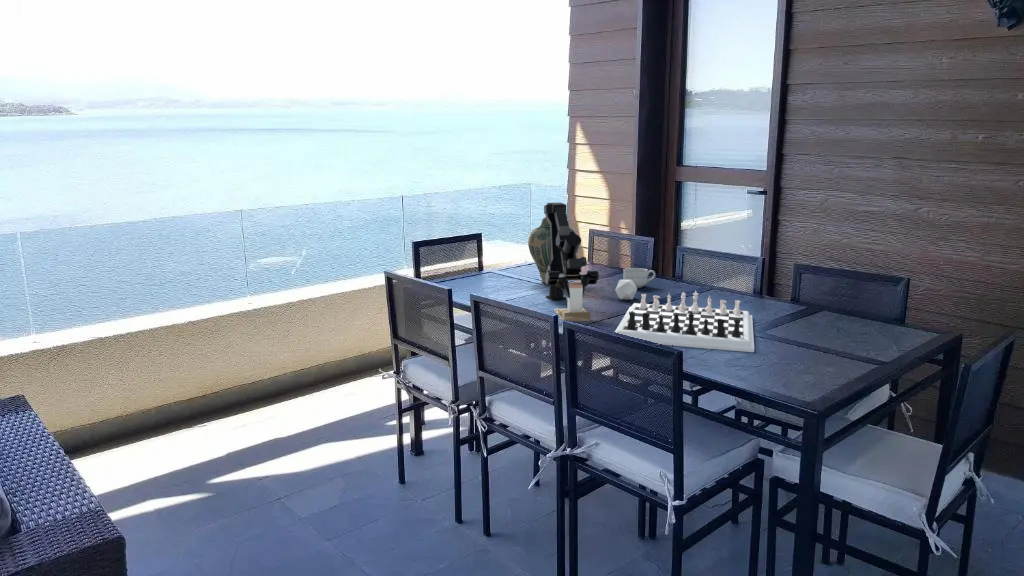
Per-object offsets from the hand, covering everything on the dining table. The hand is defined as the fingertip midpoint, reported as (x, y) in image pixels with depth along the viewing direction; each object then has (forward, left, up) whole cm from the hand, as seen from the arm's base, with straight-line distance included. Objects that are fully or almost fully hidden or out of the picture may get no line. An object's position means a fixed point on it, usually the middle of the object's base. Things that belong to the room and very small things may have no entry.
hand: (575, 297), depth 273 cm
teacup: (-39, +54, -9) cm, 67 cm away
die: (-22, +36, -9) cm, 43 cm away
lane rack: (-6, +2, -8) cm, 10 cm away
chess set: (+26, +29, -9) cm, 40 cm away
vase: (-63, +24, -9) cm, 68 cm away
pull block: (-1, 0, -6) cm, 7 cm away
